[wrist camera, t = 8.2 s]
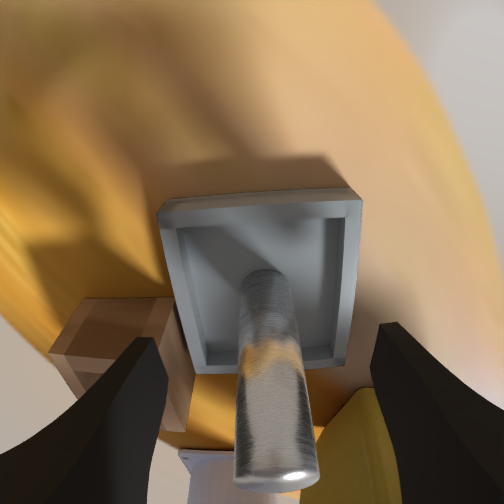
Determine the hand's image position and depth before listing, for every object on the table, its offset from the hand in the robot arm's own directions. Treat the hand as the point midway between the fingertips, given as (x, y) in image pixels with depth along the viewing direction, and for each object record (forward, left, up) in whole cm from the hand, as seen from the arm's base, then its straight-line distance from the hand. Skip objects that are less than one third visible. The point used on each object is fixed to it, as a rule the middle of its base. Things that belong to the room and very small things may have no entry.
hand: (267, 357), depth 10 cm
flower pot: (-11, -6, -5) cm, 14 cm away
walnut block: (-3, +6, -4) cm, 8 cm away
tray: (0, 0, -4) cm, 4 cm away
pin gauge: (0, 0, -4) cm, 4 cm away
